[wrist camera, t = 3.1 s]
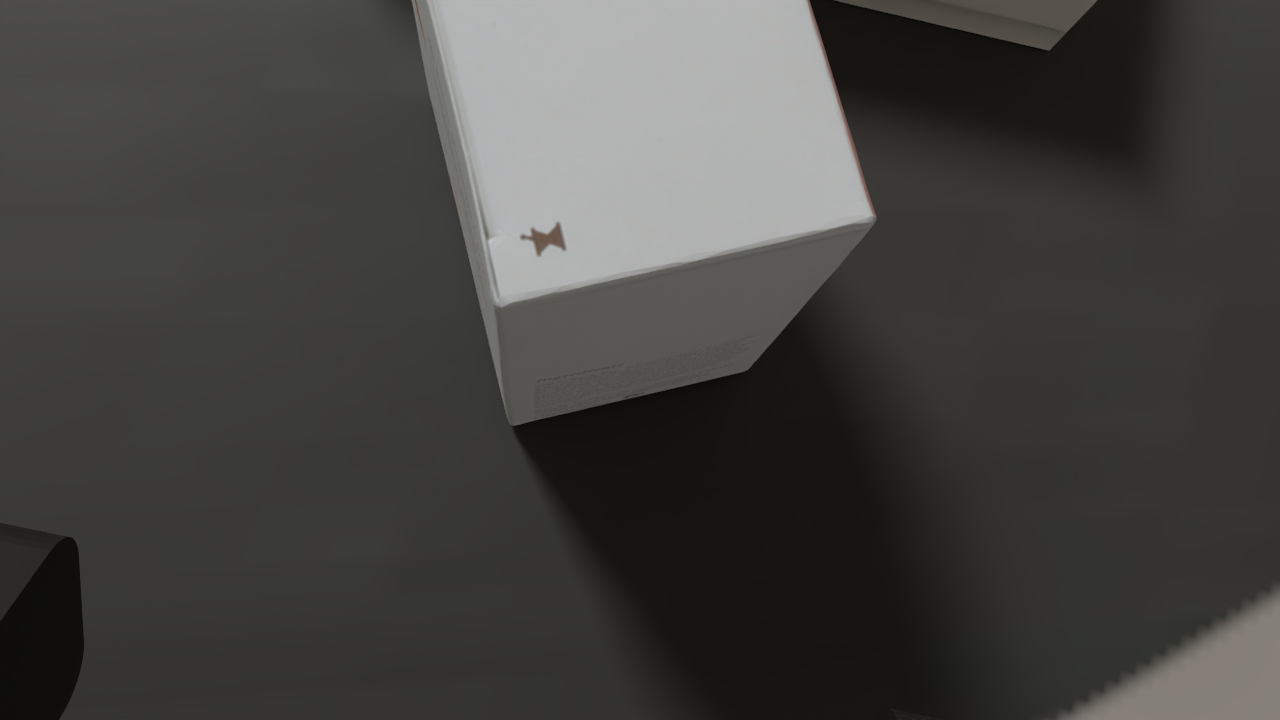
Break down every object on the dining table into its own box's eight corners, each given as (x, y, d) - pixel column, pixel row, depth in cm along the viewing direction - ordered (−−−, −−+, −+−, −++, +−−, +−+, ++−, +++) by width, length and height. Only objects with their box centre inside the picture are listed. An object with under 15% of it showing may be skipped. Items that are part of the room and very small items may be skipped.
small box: (750, 375, 27) (891, 235, 17) (504, 432, 26) (495, 322, 16) (662, 48, 28) (743, -267, 18) (426, 93, 28) (370, -210, 17)
